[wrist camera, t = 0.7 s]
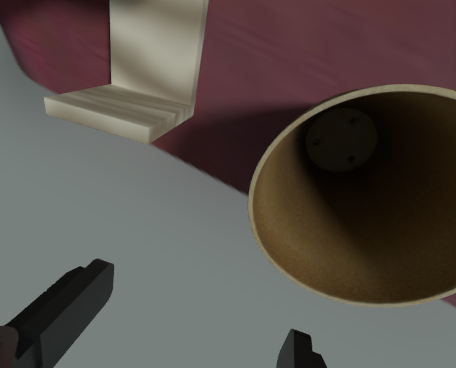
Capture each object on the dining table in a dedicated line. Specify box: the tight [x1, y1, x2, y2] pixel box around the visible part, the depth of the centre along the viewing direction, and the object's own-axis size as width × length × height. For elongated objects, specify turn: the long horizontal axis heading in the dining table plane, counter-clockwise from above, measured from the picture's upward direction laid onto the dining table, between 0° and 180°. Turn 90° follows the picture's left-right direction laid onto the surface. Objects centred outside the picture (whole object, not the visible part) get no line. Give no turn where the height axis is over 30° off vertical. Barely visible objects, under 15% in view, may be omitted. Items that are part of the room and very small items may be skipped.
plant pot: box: [248, 84, 456, 308], centre depth 22 cm, size 15×15×16 cm
